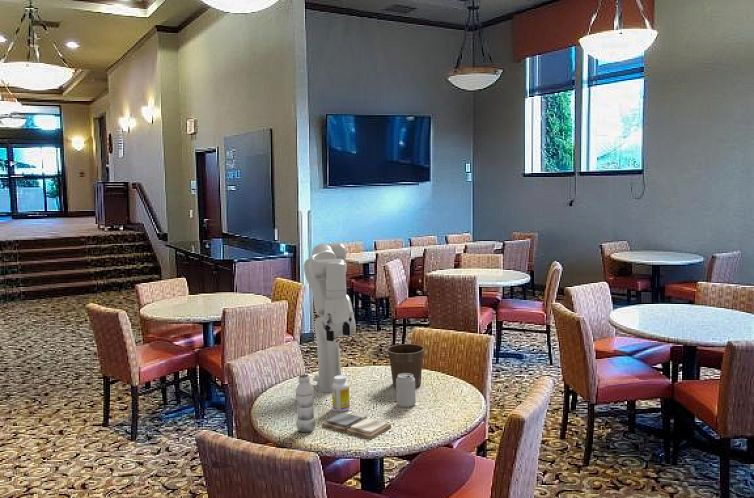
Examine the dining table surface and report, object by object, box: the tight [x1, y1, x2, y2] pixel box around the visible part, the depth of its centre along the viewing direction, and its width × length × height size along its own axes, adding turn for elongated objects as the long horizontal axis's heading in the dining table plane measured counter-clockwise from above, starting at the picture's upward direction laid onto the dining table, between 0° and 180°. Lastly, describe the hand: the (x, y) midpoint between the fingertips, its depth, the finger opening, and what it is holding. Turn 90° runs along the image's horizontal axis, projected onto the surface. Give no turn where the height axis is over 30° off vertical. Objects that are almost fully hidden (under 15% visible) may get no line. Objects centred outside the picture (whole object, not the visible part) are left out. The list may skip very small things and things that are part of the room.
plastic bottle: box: [295, 374, 316, 433], centre depth 219 cm, size 6×7×20 cm
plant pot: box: [386, 343, 425, 389], centre depth 266 cm, size 16×16×16 cm
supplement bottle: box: [331, 374, 351, 413], centre depth 240 cm, size 7×7×13 cm
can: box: [395, 373, 417, 408], centre depth 242 cm, size 8×8×12 cm
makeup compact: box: [321, 411, 392, 440], centre depth 222 cm, size 22×12×2 cm, turn 54°
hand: (338, 337), depth 237 cm, fingers open, 9 cm apart
